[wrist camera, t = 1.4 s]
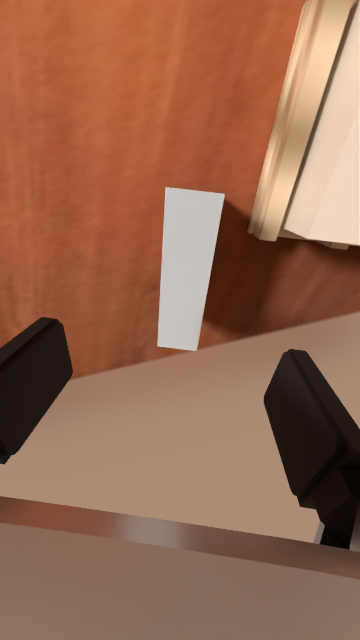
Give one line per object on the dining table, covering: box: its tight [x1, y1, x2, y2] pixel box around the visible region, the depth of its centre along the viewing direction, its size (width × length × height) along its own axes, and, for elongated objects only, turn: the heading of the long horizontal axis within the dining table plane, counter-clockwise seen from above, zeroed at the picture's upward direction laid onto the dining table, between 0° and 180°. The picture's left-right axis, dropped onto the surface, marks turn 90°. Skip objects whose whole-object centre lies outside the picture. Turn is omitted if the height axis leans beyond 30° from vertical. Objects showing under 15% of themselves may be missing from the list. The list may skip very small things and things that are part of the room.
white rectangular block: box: [158, 187, 225, 351], centre depth 19 cm, size 12×4×9 cm, turn 174°
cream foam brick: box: [281, 0, 360, 245], centre depth 14 cm, size 12×4×7 cm, turn 174°
